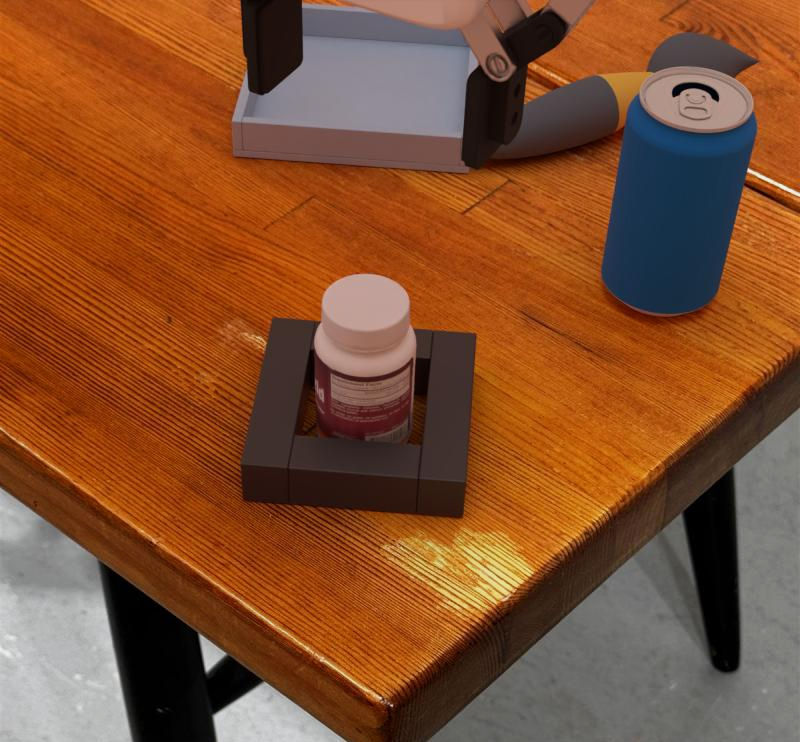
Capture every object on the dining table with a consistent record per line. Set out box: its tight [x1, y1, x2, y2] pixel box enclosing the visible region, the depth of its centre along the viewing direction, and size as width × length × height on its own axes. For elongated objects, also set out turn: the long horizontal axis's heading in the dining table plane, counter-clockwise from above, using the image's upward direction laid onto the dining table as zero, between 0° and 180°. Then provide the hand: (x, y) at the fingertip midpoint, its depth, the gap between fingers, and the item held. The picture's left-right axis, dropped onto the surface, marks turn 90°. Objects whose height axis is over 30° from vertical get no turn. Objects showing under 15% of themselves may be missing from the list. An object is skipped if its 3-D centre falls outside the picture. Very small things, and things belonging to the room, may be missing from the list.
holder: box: [239, 316, 478, 519], centre depth 71 cm, size 10×10×2 cm
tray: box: [231, 2, 480, 175], centre depth 91 cm, size 14×14×2 cm
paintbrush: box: [489, 31, 761, 160], centre depth 89 cm, size 20×5×5 cm, turn 122°
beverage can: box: [600, 67, 758, 318], centre depth 76 cm, size 6×6×12 cm
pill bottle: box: [314, 273, 416, 444], centre depth 69 cm, size 5×5×8 cm
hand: (378, 113), depth 58 cm, fingers open, 9 cm apart
